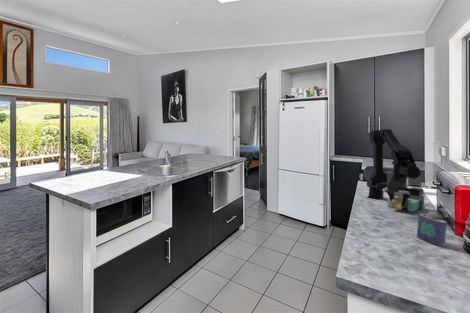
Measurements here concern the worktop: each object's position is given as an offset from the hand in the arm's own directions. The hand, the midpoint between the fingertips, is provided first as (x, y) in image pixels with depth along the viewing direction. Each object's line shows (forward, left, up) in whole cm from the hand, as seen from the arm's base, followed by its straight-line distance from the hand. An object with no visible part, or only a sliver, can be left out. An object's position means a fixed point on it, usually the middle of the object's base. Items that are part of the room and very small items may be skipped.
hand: (397, 205), depth 120 cm
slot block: (0, +6, -3) cm, 7 cm away
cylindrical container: (-15, +44, -3) cm, 47 cm away
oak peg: (0, +2, -1) cm, 2 cm away
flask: (+21, -28, -3) cm, 35 cm away
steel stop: (0, +11, -3) cm, 12 cm away
